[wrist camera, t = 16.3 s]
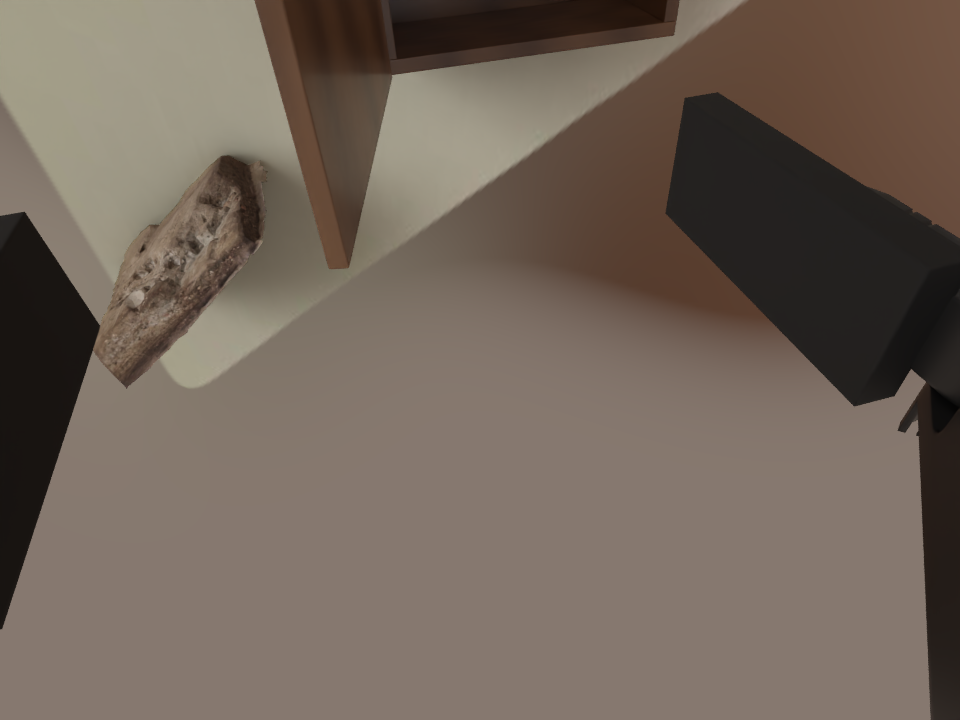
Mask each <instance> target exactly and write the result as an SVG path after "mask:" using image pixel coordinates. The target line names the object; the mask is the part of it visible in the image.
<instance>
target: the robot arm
mask: <svg viewBox="0 0 960 720" xmlns="http://www.w3.org/2000/svg"><path fill="white" fill-rule="evenodd" d="M666 214H667V215H668V216H669V217H670V218H671V219H672V220H673V221H674V223H675V224H676V225H677V226H678V227H680V229H681V230H682V231H683V232H684V233H685V234H686V235H687V236H688V237H689V238H690V239H691V240H692V241H693V242H694V243H695V244H696V245H697V246H698V247H699V248H700V249H701V250H702V251H703V252H704V253H705V254H706V255H707V256H708V257H709V258H710V259H711V260H712V261H713V262H714V263H715V264H716V266H718V268H720V270H722V272H723V273H724V274H725V275H726V276H728V278H729V279H730V280H731V281H732V282H733V283H734V284H735V285H736V286H737V287H738V288H739V289H740V290H741V291H742V292H743V293H744V294H745V295H746V296H747V297H748V298H749V299H750V300H751V301H752V302H753V303H754V304H755V305H756V306H757V307H758V308H759V309H760V311H761V312H763V314H764V315H765V316H766V317H767V318H768V319H769V320H770V321H771V322H772V323H773V324H774V325H775V326H777V328H778V329H779V330H780V331H781V332H782V333H783V334H784V335H785V336H786V337H787V338H788V339H789V340H790V341H791V342H792V343H793V344H794V345H795V346H796V347H797V348H798V349H799V350H800V351H801V353H803V354H804V356H805V357H806V358H807V359H808V360H809V361H810V362H811V363H812V364H813V365H814V366H815V367H816V368H817V369H818V370H819V371H820V372H821V373H822V374H823V375H824V376H825V377H826V378H827V379H828V380H829V381H830V382H831V383H832V384H833V385H834V386H835V387H836V388H837V389H838V390H839V391H840V392H841V393H842V394H843V395H844V396H845V398H847V400H848V401H849V402H850V403H851V404H853V406H858V405H862V404H866V403H870V402H873V401H877V400H881V399H885V398H889V397H892V396H895V394H896V392H897V391H898V389H899V387H900V386H901V384H902V383H903V381H904V379H905V378H906V376H907V374H908V373H909V371H910V370H911V369H912V370H913V371H914V372H916V373H917V374H918V375H919V376H920V377H921V378H923V379H924V380H925V381H926V383H925V385H924V386H923V388H922V389H921V391H920V393H919V394H918V396H917V397H916V399H915V400H914V402H913V403H912V405H911V406H910V408H909V410H908V411H907V413H906V414H905V416H904V417H903V419H902V420H901V422H900V425H899V428H898V431H901V432H906V431H907V429H908V428H909V426H910V425H911V423H912V422H914V421H916V420H918V428H919V429H918V430H919V431H918V432H917V434H916V436H919V451H920V452H919V453H920V477H921V499H922V500H921V501H922V524H923V547H924V569H925V571H924V572H925V594H926V619H927V642H928V665H929V689H930V713H931V720H960V238H958V237H956V236H955V235H953V234H952V233H950V232H948V231H946V230H945V229H944V228H942V227H940V226H939V225H937V224H935V225H932V223H931V222H932V221H931V220H929V219H928V218H926V217H924V216H923V215H921V214H920V213H918V212H915V213H913V212H912V209H911V208H910V207H908V206H907V205H905V204H904V203H902V202H900V201H899V200H897V199H896V198H894V197H892V196H891V195H889V194H886V193H883V192H881V191H878V190H875V189H872V188H869V187H866V186H864V185H863V184H861V183H860V182H858V181H856V180H855V179H853V178H851V177H850V176H848V175H847V174H845V173H843V172H842V171H840V170H839V169H837V168H836V167H834V166H833V165H831V164H830V163H828V162H826V161H825V160H823V159H822V158H820V157H819V156H817V155H815V154H814V153H812V152H811V151H809V150H807V149H806V148H804V147H803V146H801V145H800V144H798V143H796V142H795V141H793V140H792V139H790V138H789V137H787V136H785V135H784V134H782V133H781V132H779V131H778V130H776V129H774V128H773V127H771V126H770V125H768V124H767V123H765V122H763V121H762V120H760V119H759V118H757V117H756V116H754V115H752V114H751V113H749V112H748V111H746V110H744V109H743V108H741V107H740V106H738V105H737V104H735V103H734V102H732V101H730V100H729V99H727V98H726V97H724V96H722V95H721V94H719V93H718V92H717V93H711V94H706V95H700V96H694V97H688V98H685V101H684V106H683V113H682V118H681V124H680V130H679V136H678V142H677V148H676V154H675V160H674V166H673V172H672V178H671V184H670V190H669V196H668V202H667V208H666ZM99 330H100V325H99V324H98V322H97V321H96V319H95V318H94V316H93V315H92V313H91V311H90V310H89V308H88V307H87V305H86V304H85V302H84V301H83V299H82V298H81V296H80V295H79V293H78V292H77V290H76V289H75V287H74V286H73V284H72V283H71V281H70V280H69V278H68V277H67V275H66V274H65V272H64V271H63V269H62V268H61V266H60V265H59V263H58V262H57V260H56V258H55V257H54V255H53V254H52V252H51V251H50V249H49V248H48V246H47V245H46V243H45V242H44V241H43V239H42V237H41V236H40V234H39V233H38V231H37V230H36V228H35V227H34V225H33V224H32V222H31V221H30V219H29V218H28V216H27V215H26V213H25V212H21V213H15V214H10V215H3V216H0V629H2V628H3V625H4V621H5V618H6V615H7V612H8V609H9V606H10V603H11V600H12V597H13V594H14V591H15V588H16V585H17V582H18V578H19V575H20V572H21V569H22V566H23V563H24V560H25V557H26V554H27V551H28V548H29V545H30V541H31V539H32V535H33V532H34V529H35V526H36V523H37V520H38V517H39V514H40V511H41V508H42V505H43V502H44V498H45V495H46V492H47V489H48V486H49V483H50V480H51V477H52V474H53V471H54V468H55V464H56V462H57V459H58V456H59V452H60V449H61V446H62V443H63V440H64V437H65V434H66V431H67V427H68V425H69V422H70V418H71V416H72V412H73V409H74V406H75V403H76V400H77V397H78V394H79V391H80V388H81V385H82V382H83V378H84V376H85V373H86V369H87V366H88V363H89V360H90V357H91V354H92V351H93V348H94V345H95V342H96V339H97V336H98V333H99Z"/></svg>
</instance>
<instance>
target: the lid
mask: <svg viewBox="0 0 960 720" xmlns="http://www.w3.org/2000/svg"><path fill="white" fill-rule="evenodd" d="M255 4H256V7H257V11H258V15H259V18H260V22H261V25H262V29H263V33H264V36H265V40H266V44H267V47H268V51H269V54H270V58H271V62H272V65H273V69H274V72H275V76H276V80H277V83H278V87H279V91H280V94H281V98H282V101H283V105H284V109H285V112H286V116H287V119H288V123H289V127H290V130H291V134H292V138H293V141H294V145H295V148H296V152H297V156H298V159H299V163H300V167H301V170H302V174H303V177H304V181H305V185H306V188H307V192H308V195H309V199H310V203H311V206H312V210H313V214H314V217H315V221H316V224H317V228H318V232H319V235H320V239H321V242H322V246H323V250H324V253H325V257H326V261H327V264H328V268H329V269H342V268H349V265H350V261H351V256H352V252H353V248H354V243H355V239H356V234H357V230H358V226H359V221H360V217H361V212H362V208H363V204H364V199H365V195H366V190H367V186H368V182H369V177H370V173H371V168H372V164H373V160H374V155H375V151H376V146H377V142H378V138H379V133H380V129H381V124H382V120H383V116H384V111H385V107H386V102H387V98H388V94H389V89H390V85H391V80H392V73H391V66H390V59H389V52H388V46H387V39H386V32H385V25H384V19H383V12H382V5H381V0H255Z"/></svg>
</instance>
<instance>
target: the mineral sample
mask: <svg viewBox="0 0 960 720" xmlns="http://www.w3.org/2000/svg"><path fill="white" fill-rule="evenodd" d="M266 174H267V171H264V170H263V166H261V165H260V161H258V162H255V163H252V164H250V165H247V164H244V163H242V162H240V161H238V160H236V159H234V158H232V157H230V156H221V157H219V158H218V159H217V160H216V161H215V162H214V163H213V164H211V165H210V166H209V167H208V168H207V169H206V170H205V171H204V173H203V174H202V175H201V176H200V177H199V178H198V179H197V180H196V181H195V182H194V183H193V184H192V185H191V186H189V188H188V189H187V190H186V192H185V193H184V195H183V196H182V198H181V200H180V201H179V203H178V204H177V205H176V207H175V208H174V209H173V210H172V211H171V212H170V213H169V214H168V215H167V216H166V218H165V219H164V220H163V221H162V222H161V224H160V225H149V226H148V227H147V228H146V229H145V230H144V231H142V232H141V233H140V234H139V236H138V237H137V238H136V239H135V240H134V241H133V242H132V244H131V245H130V246H129V248H128V249H127V251H126V253H125V256H124V262H123V264H122V265H121V267H120V271H119V275H118V278H117V281H116V283H115V288H114V289H113V292H114V293H113V295H112V300H111V304H110V305H109V306H108V310H107V312H106V313H105V314H104V316H103V318H102V323H101V325H100V330H99V333H98V336H97V339H96V342H95V345H94V348H93V351H94V352H95V354H96V356H97V357H98V358H99V360H100V361H101V362H102V363H103V365H105V367H106V368H107V369H108V370H109V371H110V372H111V373H112V374H113V375H114V376H115V377H116V378H117V379H118V380H119V381H121V383H122V384H123V385H124V386H125V387H126V388H127V387H128V386H129V385H130V384H131V383H132V382H134V381H135V380H136V379H138V378H139V377H140V376H141V375H142V374H143V373H145V372H146V371H147V370H148V369H149V368H151V366H152V365H153V363H155V362H156V361H157V360H158V359H159V358H160V357H161V356H162V355H163V354H164V353H165V352H166V351H168V350H169V349H170V347H171V346H172V345H173V344H174V343H175V341H176V340H177V339H178V338H180V337H181V336H183V335H184V334H186V333H187V331H188V329H189V328H190V327H191V326H192V325H193V323H194V322H195V321H196V320H197V319H198V317H199V316H200V315H201V314H202V312H203V311H204V310H205V309H206V308H207V307H208V306H209V305H210V304H211V303H212V302H213V300H214V299H215V298H216V296H217V295H218V294H219V293H220V292H221V291H222V290H223V289H224V287H225V286H226V285H227V284H228V282H229V281H230V280H231V279H232V278H233V277H234V276H235V275H236V274H237V273H238V271H239V270H240V269H241V268H242V267H243V266H244V265H245V264H246V262H247V261H248V260H247V259H248V258H249V255H253V254H254V253H255V252H256V251H257V250H258V248H259V247H260V245H261V243H262V241H260V240H261V239H262V238H263V234H264V230H265V221H264V222H263V220H264V218H265V214H266V208H265V201H264V195H263V193H262V182H265V181H266V179H267V177H266Z"/></svg>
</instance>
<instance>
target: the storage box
mask: <svg viewBox="0 0 960 720" xmlns="http://www.w3.org/2000/svg"><path fill="white" fill-rule="evenodd" d="M381 5H382V12H383V19H384V25H385V32H386V39H387V46H388V52H389V59H390V66H391V73H392V75H395V74H402V73H410V72H417V71H424V70H431V69H438V68H445V67H452V66H459V65H467V64H474V63H481V62H488V61H495V60H502V59H509V58H516V57H524V56H531V55H538V54H545V53H552V52H559V51H566V50H573V49H581V48H588V47H595V46H602V45H609V44H616V43H623V42H630V41H638V40H645V39H652V38H659V37H666V36H673V35H674V32H675V25H676V20H677V13H678V7H679V0H381Z"/></svg>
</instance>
